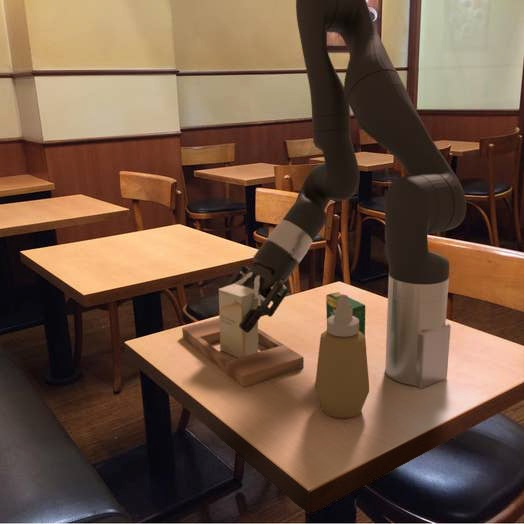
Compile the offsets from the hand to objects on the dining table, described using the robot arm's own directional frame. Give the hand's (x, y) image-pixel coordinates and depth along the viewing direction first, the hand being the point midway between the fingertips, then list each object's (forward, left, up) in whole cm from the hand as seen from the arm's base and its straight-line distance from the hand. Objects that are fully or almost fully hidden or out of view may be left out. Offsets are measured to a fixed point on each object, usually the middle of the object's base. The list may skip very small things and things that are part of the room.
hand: (231, 322), depth 103 cm
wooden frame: (0, -1, -6) cm, 6 cm away
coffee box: (-17, -12, -6) cm, 22 cm away
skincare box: (0, -2, -6) cm, 7 cm away
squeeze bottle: (-26, -4, -6) cm, 27 cm away
